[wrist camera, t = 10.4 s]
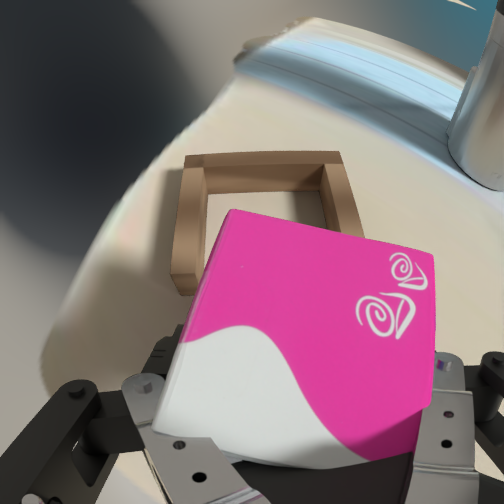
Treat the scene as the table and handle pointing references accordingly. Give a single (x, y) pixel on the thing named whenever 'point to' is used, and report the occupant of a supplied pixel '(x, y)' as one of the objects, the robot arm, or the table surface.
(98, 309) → the table surface
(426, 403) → the supplement box
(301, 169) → the walnut frame
